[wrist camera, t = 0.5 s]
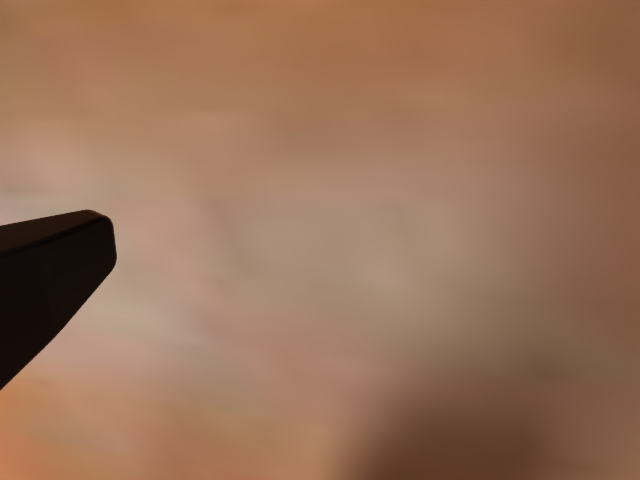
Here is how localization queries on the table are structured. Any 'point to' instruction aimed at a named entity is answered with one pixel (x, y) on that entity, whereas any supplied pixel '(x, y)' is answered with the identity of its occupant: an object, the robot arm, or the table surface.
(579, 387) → the table surface
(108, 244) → the robot arm
